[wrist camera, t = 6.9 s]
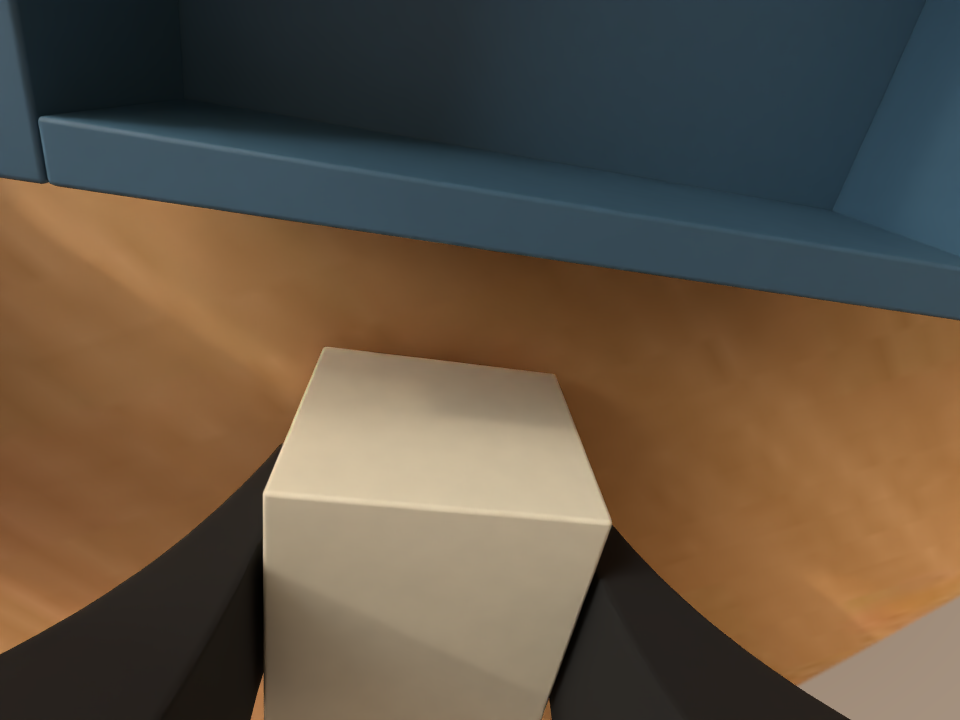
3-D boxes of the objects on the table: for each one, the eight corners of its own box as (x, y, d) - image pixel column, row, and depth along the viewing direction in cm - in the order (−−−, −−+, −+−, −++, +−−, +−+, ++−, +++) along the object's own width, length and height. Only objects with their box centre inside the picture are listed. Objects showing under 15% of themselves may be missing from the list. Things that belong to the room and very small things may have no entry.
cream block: (312, 556, 14) (262, 750, 10) (323, 344, 11) (261, 492, 7) (504, 569, 14) (529, 756, 10) (556, 372, 12) (615, 522, 8)
